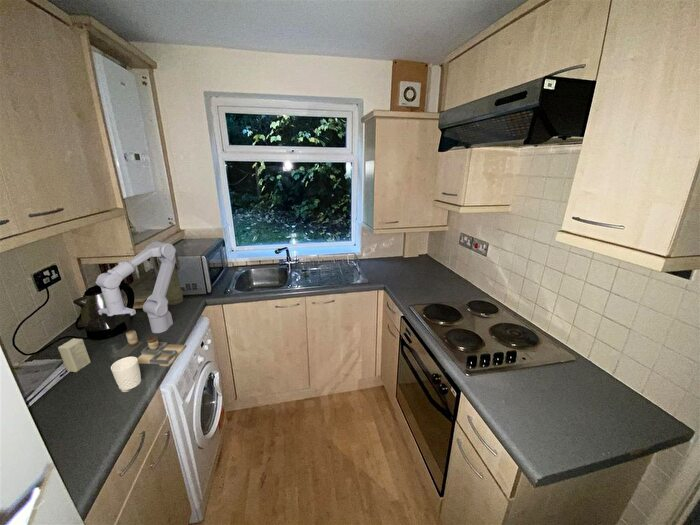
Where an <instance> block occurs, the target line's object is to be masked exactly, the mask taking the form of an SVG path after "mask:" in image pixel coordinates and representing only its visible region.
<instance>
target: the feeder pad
mask: <svg viewBox="0 0 700 525" xmlns="http://www.w3.org/2000/svg"><path fill="white" fill-rule="evenodd" d="M138 341H139V344H138V345H136V346H132V347H130V346H129V344H128V343H127V344H126V345H124V346H123V347H121V348H120V349H119V350H118V351H117V352H115V353H114V354H113V355H112V356H111V357H112V358H125V357H129V356H128V355H130V354H131V353H133V352H134V350H136V349H137V348H139V346H140V345H142V344H143V343H144V341H140V340H138Z"/></svg>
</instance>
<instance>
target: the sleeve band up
mask: <svg viewBox="0 0 700 525" xmlns="http://www.w3.org/2000/svg"><path fill="white" fill-rule="evenodd" d="M146 342H147V346H149V350H150V351H157V350H158V349H159V344H158V342H159V340H158V337H157V335H151V336H149V337H147V338H146Z"/></svg>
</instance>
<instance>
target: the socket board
mask: <svg viewBox="0 0 700 525" xmlns="http://www.w3.org/2000/svg"><path fill="white" fill-rule="evenodd" d="M158 344H159V349H158V350H157V351H150V350H149V346H148V345H147V346H145V347H144V348H143V349H142V350H141V351H140V353H141V355H139V356H138V357H136V358H137V359H138V364H143V365H144V364H149V365H150V364H151V365H158V367H170V365H171V364H172V363H173V362H174V361H175V360H176V359H177V358H178V357H179V355H181V354H182V353H183V351H184V350H185V349H186V348H187V345H186V344H172V343H170V344H168V342H167V341H166V342H165V341H158Z"/></svg>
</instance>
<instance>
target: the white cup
mask: <svg viewBox="0 0 700 525" xmlns="http://www.w3.org/2000/svg"><path fill="white" fill-rule="evenodd" d="M137 358H138V357H136V356H126V357H121V359H118V360H116V361H115V362H113V363H112V365H111V366H110V370H111V373H112V375H113V378H114V380H115V383H116V384H117V385H118V389H119V391H120V392H122V393H123V392H124V393H126V392H129V390H131V389H133V388H136V387H137V386H138V387H139V386H141V382H142V377H141V376H142V374H141V370H140V369H141V368H140V363H138V359H137Z"/></svg>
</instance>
